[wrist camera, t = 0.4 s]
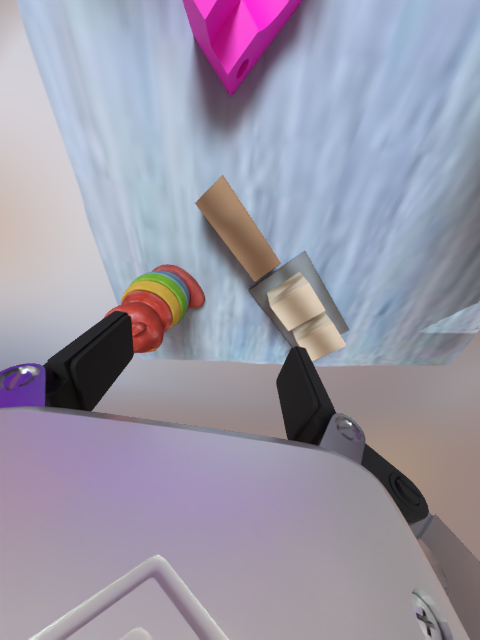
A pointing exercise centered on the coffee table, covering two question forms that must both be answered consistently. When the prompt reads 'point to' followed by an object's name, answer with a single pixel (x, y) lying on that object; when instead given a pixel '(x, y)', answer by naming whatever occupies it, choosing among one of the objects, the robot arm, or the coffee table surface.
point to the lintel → (237, 229)
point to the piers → (302, 307)
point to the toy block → (236, 32)
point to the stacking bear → (158, 304)
